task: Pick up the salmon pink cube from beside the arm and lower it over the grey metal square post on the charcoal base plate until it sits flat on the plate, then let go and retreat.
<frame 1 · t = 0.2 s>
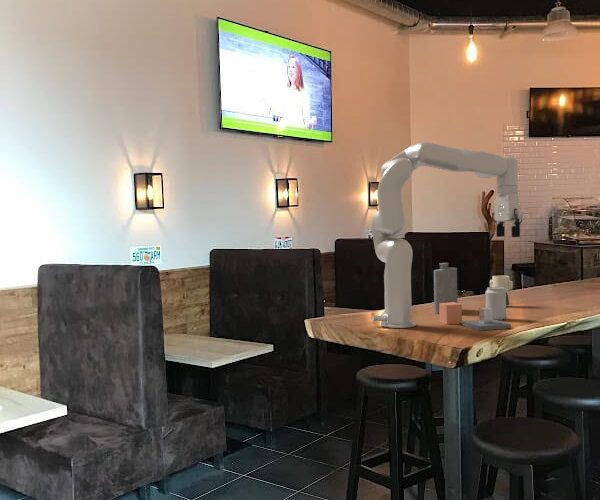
hand: (508, 236, 242), 31 cm above the table, fingers open, 9 cm apart
post base: (486, 326, 225), on the table
can: (496, 319, 242), on the table
hip flask: (445, 312, 265), on the table
character mug: (501, 306, 275), on the table
salmon pink cube: (450, 322, 236), on the table
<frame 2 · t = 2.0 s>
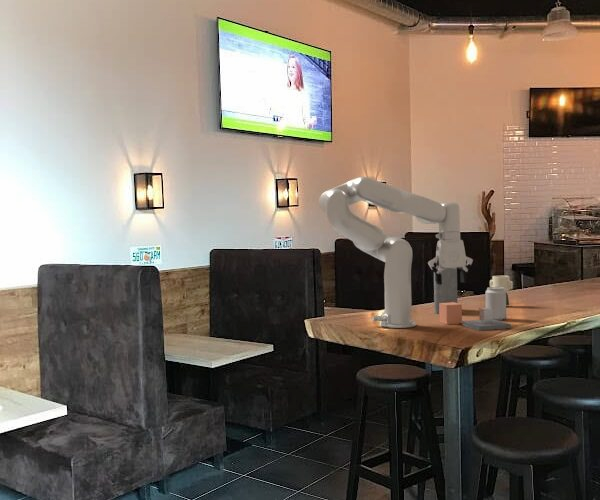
hand: (451, 283, 236), 14 cm above the table, fingers open, 9 cm apart
nothing on the table moved.
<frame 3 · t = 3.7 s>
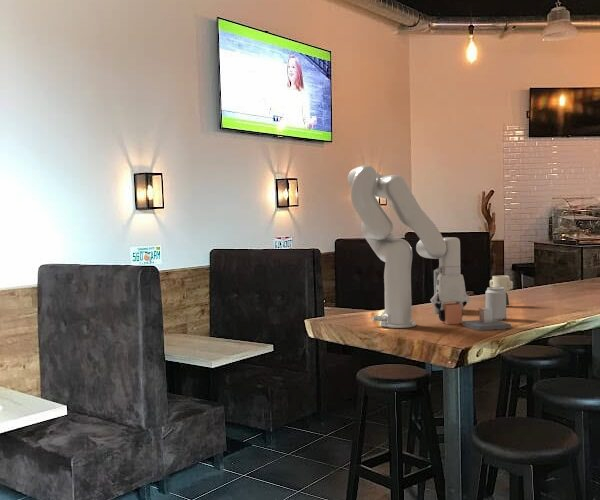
hand: (450, 319, 236), 1 cm above the table, fingers closed on salmon pink cube, 6 cm apart
salmon pink cube: (450, 322, 236), on the table, touching gripper
everything else where it was.
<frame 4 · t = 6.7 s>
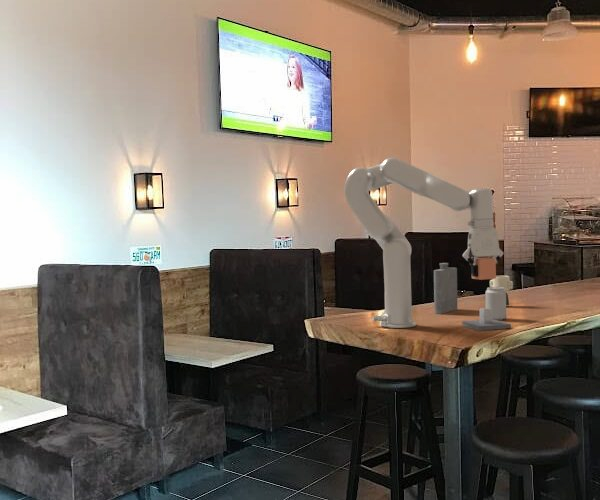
hand: (483, 275, 225), 18 cm above the table, fingers closed on salmon pink cube, 6 cm apart
salmon pink cube: (483, 278, 225), point 17 cm above the table, touching gripper
everything else where it was.
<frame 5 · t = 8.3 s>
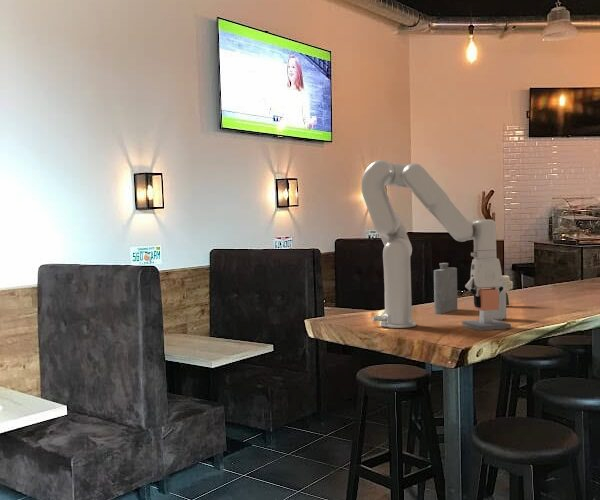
hand: (486, 306, 225), 7 cm above the table, fingers closed on salmon pink cube, 6 cm apart
salmon pink cube: (486, 309, 225), point 6 cm above the table, touching gripper
everything else where it was.
when the fingers open (3 cm above the table, at t = 9.6 s): salmon pink cube stays where it is, resting on post base.
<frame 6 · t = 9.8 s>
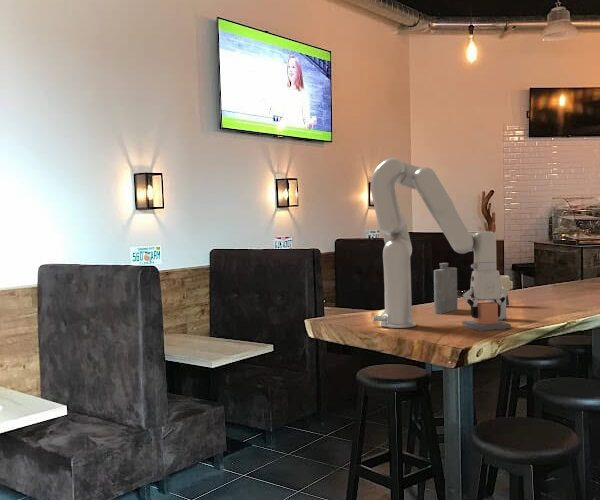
hand: (485, 316, 225), 4 cm above the table, fingers open, 8 cm apart
salmon pink cube: (485, 322, 225), point 1 cm above the table, touching post base
everything else where it was.
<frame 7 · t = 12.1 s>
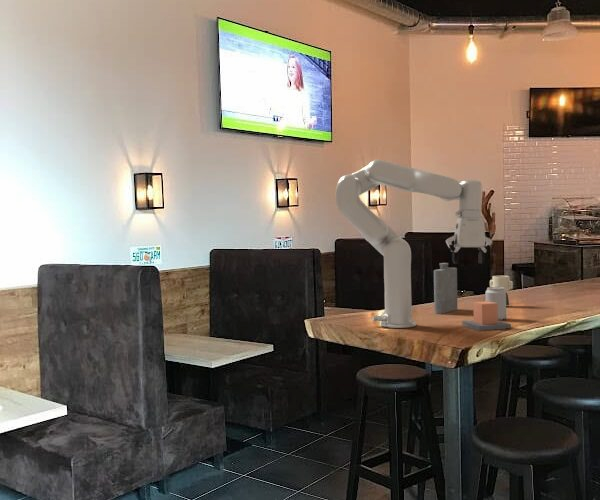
hand: (468, 263, 229), 22 cm above the table, fingers open, 9 cm apart
nothing on the table moved.
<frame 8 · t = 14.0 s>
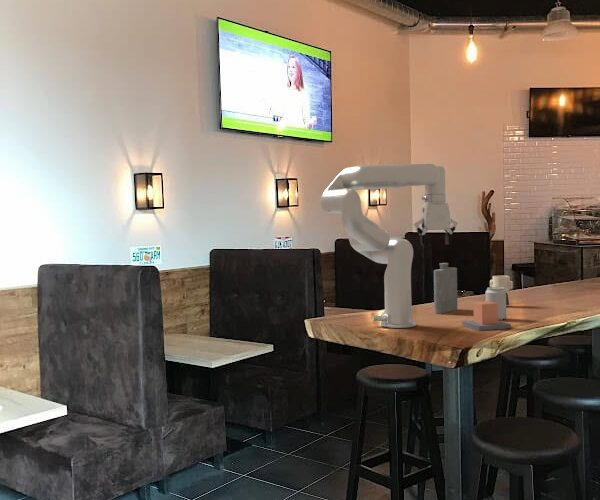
hand: (436, 245, 241), 28 cm above the table, fingers open, 9 cm apart
nothing on the table moved.
at the end: salmon pink cube 0.1 cm off-centre on the post base, point 1.5 cm above the post base's base; salmon pink cube tilted 0°; the gripper is holding nothing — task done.
